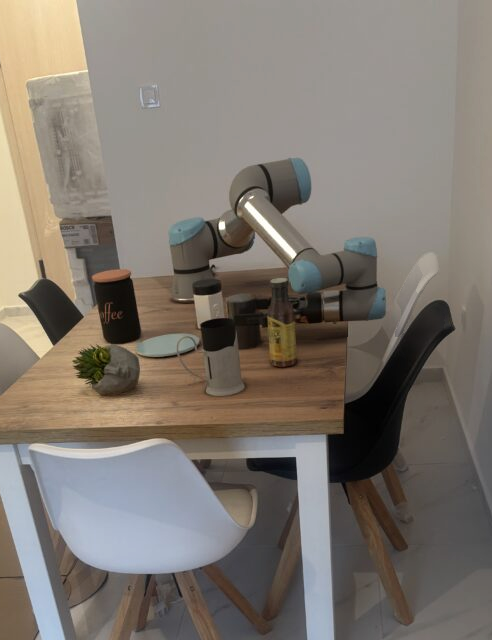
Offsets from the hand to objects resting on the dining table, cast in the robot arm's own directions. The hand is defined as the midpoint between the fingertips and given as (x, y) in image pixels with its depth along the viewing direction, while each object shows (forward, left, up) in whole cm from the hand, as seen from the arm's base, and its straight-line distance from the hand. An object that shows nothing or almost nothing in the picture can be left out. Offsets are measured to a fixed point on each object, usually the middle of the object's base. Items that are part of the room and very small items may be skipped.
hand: (238, 312), depth 196 cm
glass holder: (+33, -1, -8) cm, 34 cm away
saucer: (0, -20, -8) cm, 22 cm away
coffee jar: (-11, -36, -8) cm, 39 cm away
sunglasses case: (-25, +15, -8) cm, 30 cm away
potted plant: (+31, -26, -8) cm, 41 cm away
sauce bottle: (+17, +13, -8) cm, 23 cm away
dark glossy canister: (0, +1, -8) cm, 8 cm away
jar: (-19, -12, -8) cm, 24 cm away
